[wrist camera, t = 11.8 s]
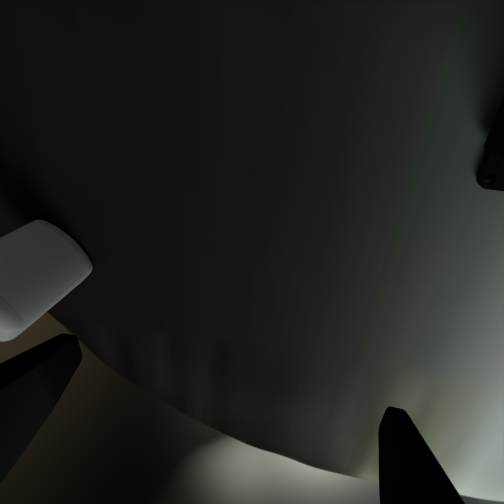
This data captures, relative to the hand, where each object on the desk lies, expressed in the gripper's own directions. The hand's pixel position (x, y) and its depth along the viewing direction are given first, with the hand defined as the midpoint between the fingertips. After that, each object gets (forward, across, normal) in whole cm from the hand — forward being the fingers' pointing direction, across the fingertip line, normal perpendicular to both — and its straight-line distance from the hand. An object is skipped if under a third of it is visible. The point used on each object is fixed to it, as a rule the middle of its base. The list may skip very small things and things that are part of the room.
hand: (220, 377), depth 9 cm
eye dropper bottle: (+13, +17, +6) cm, 22 cm away
